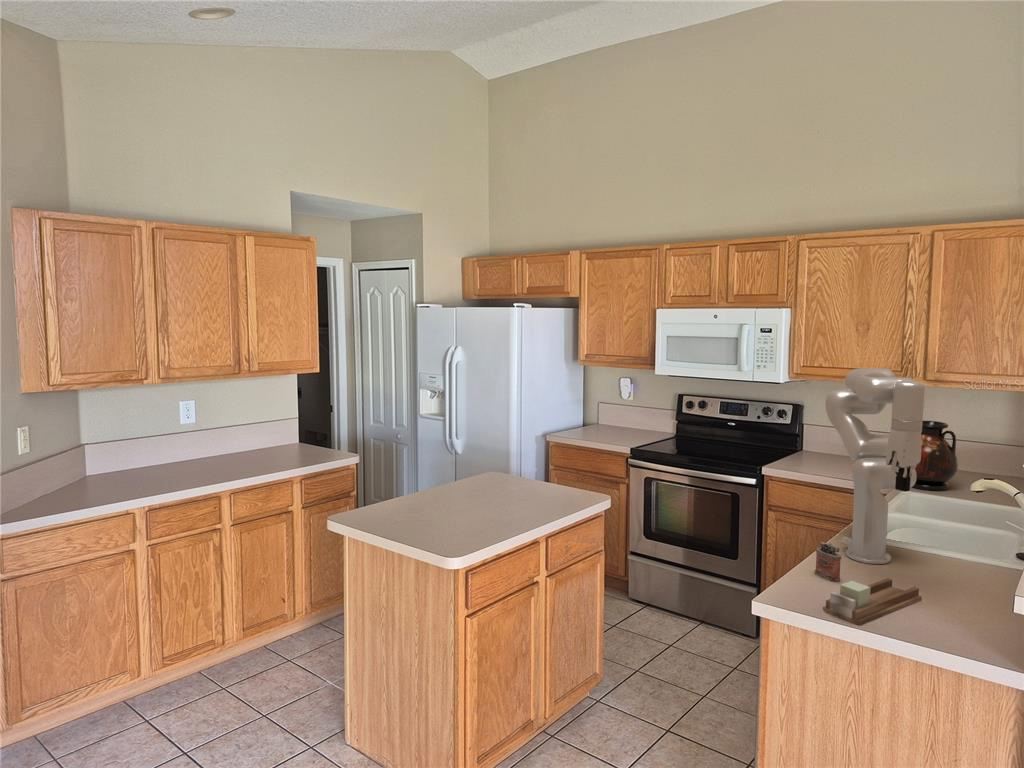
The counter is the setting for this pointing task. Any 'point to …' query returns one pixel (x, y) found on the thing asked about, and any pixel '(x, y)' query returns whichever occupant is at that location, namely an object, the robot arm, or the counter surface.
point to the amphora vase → (935, 458)
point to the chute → (872, 602)
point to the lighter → (828, 562)
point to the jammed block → (856, 593)
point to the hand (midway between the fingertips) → (902, 490)
